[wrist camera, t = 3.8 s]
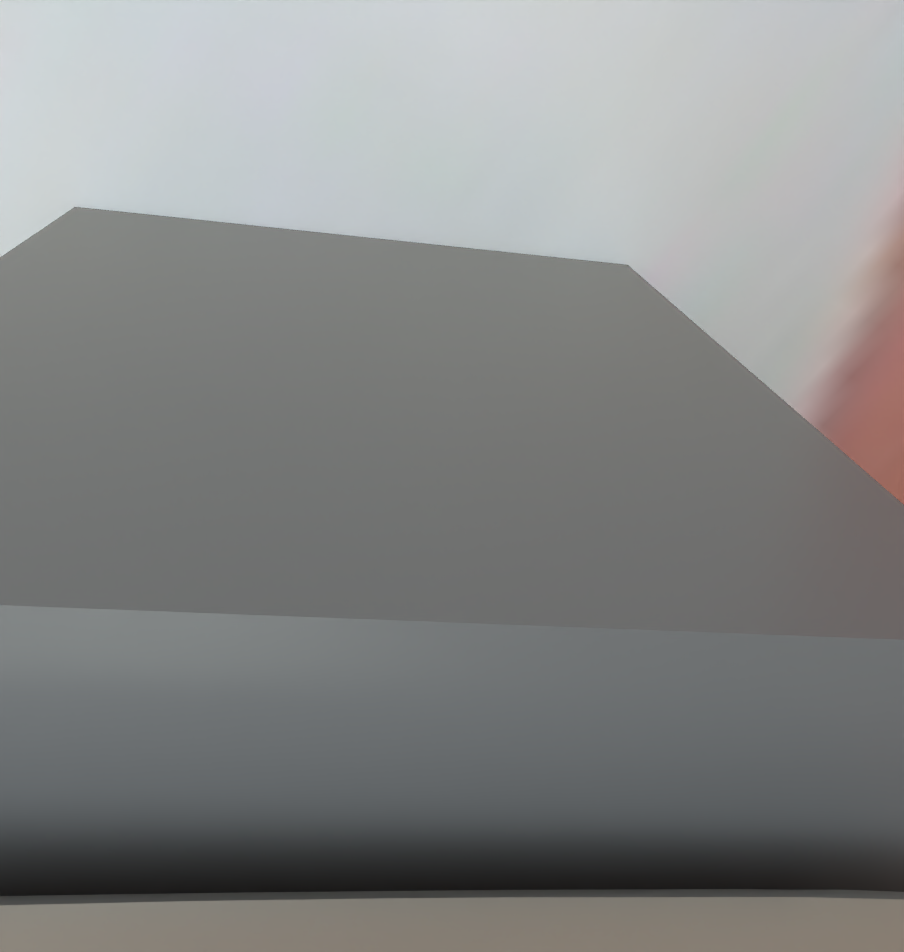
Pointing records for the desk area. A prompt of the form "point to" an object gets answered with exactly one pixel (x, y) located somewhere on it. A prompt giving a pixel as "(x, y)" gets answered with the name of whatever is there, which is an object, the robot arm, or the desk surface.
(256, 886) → the matte gray cube
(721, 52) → the desk surface
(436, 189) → the desk surface
